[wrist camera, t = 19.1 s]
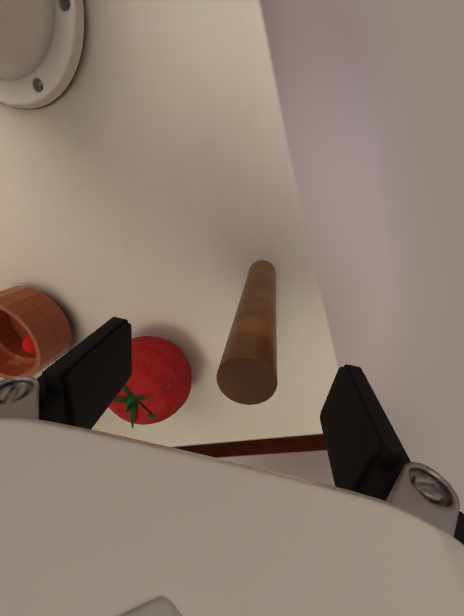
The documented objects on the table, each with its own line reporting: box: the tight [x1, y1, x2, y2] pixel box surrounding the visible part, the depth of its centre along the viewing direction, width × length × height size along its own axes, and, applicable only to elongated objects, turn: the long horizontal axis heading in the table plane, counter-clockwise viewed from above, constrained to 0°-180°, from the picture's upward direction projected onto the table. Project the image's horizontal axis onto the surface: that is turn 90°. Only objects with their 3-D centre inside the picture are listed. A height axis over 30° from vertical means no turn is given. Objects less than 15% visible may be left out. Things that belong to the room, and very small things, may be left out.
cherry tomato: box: [22, 335, 36, 354], centre depth 28 cm, size 2×2×2 cm
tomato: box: [108, 336, 192, 428], centre depth 25 cm, size 9×9×8 cm
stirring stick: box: [217, 260, 277, 405], centre depth 17 cm, size 2×2×15 cm
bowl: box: [0, 286, 72, 379], centre depth 27 cm, size 9×9×5 cm
